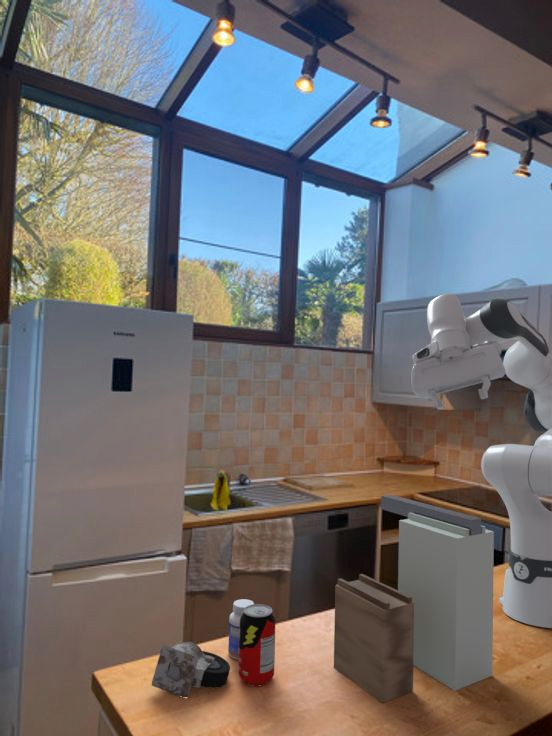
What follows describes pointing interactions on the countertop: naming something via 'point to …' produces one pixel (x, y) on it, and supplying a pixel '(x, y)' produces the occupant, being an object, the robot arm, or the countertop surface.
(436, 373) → the robot arm
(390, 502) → the bar
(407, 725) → the countertop surface
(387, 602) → the chassis block
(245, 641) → the beverage can
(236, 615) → the pill bottle
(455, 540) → the stand
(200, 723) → the countertop surface
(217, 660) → the caster wheel
